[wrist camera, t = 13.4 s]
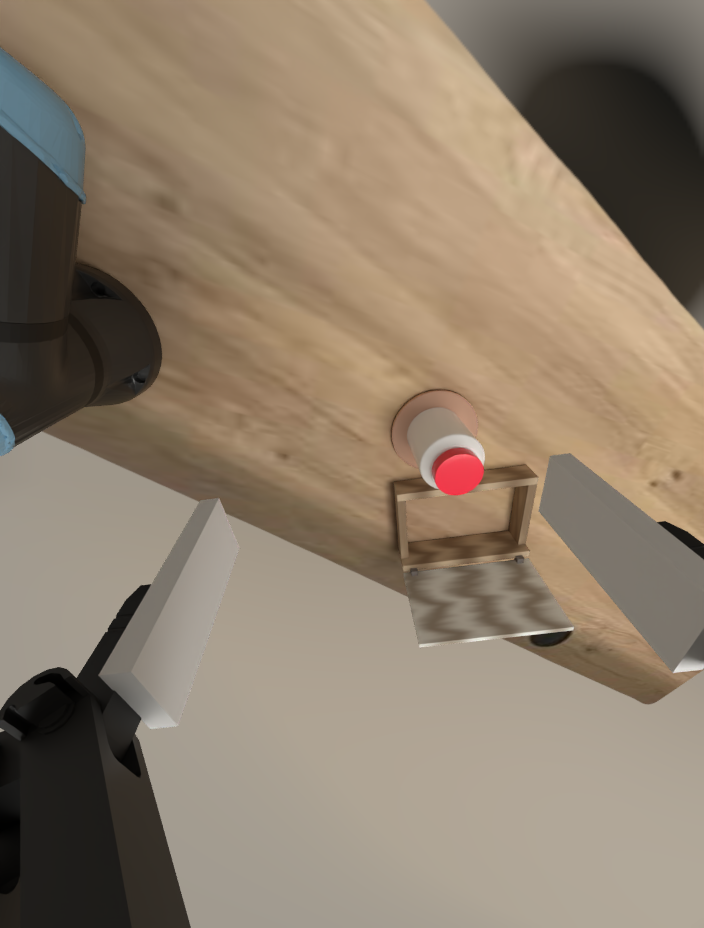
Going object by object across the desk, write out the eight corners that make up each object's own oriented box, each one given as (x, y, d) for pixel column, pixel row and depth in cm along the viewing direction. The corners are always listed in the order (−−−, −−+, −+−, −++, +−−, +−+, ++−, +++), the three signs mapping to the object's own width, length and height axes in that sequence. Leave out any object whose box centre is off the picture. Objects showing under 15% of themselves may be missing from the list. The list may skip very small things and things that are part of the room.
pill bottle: (408, 460, 49) (425, 507, 39) (405, 411, 45) (423, 450, 35) (461, 453, 48) (491, 498, 39) (462, 403, 44) (497, 439, 35)
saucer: (394, 471, 50) (394, 474, 50) (388, 396, 44) (389, 398, 44) (473, 461, 50) (475, 464, 49) (478, 383, 44) (481, 385, 43)
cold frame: (398, 553, 59) (419, 647, 45) (393, 481, 51) (416, 567, 37) (513, 539, 59) (572, 630, 44) (526, 464, 51) (603, 544, 36)
